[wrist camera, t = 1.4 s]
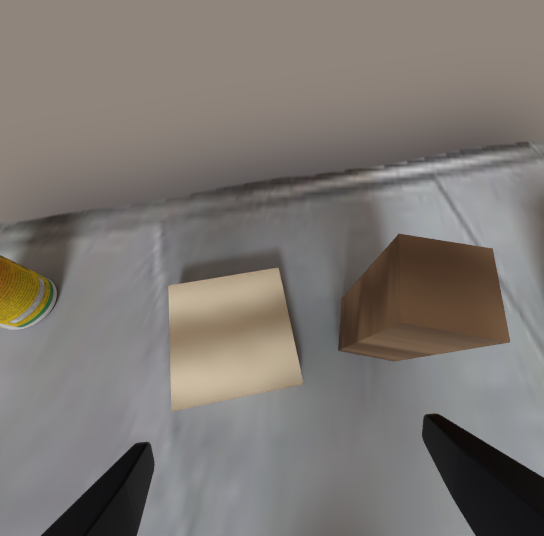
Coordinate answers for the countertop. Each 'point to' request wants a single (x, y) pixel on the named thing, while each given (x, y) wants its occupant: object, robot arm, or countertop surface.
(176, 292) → the birch block
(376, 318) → the walnut block
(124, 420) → the countertop surface
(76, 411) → the countertop surface
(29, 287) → the supplement bottle
